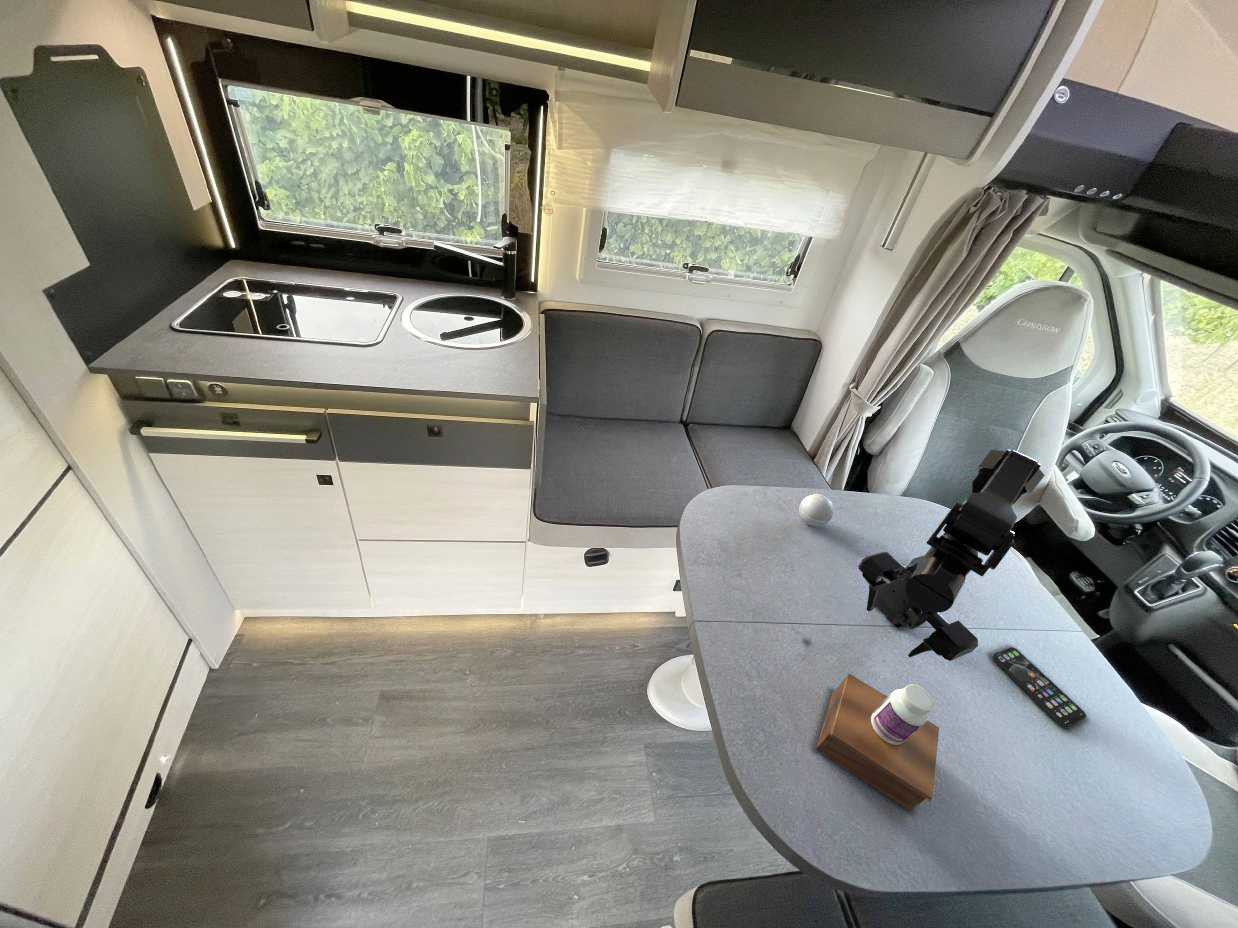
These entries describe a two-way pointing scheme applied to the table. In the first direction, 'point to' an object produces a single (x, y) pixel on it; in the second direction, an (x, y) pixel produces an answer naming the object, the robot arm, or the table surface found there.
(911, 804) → the chest
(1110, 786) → the table surface
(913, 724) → the pill bottle
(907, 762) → the lid
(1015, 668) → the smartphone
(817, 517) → the bath bomb
